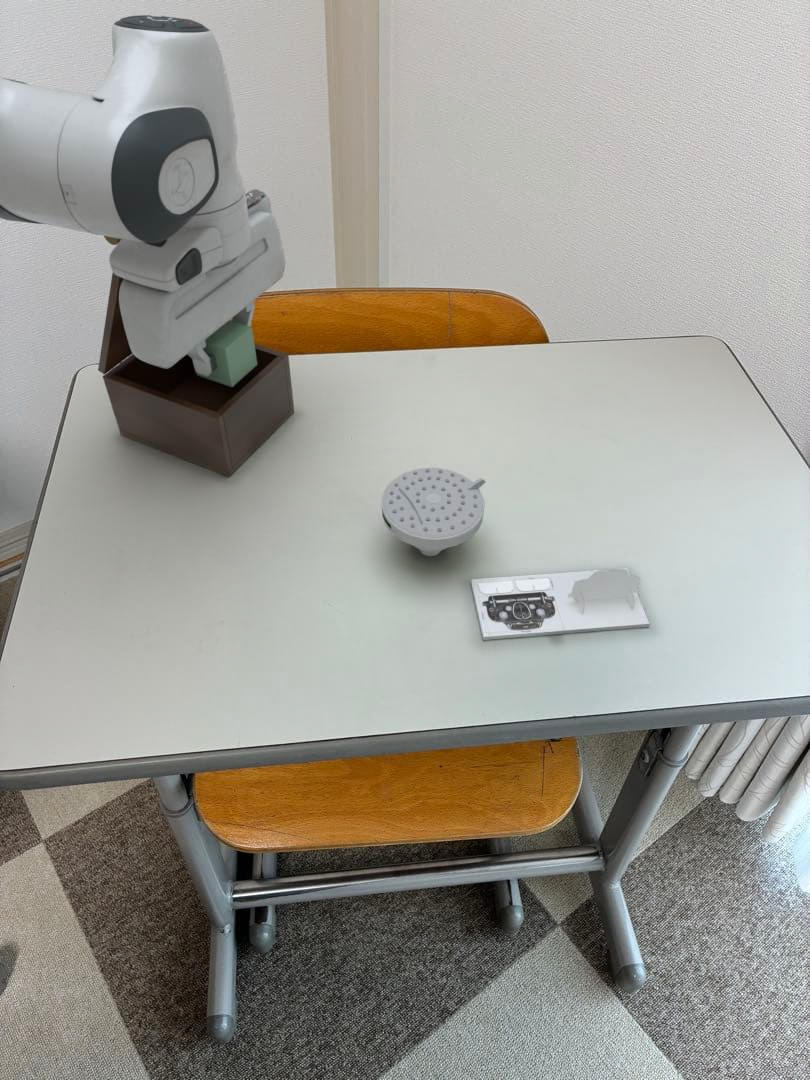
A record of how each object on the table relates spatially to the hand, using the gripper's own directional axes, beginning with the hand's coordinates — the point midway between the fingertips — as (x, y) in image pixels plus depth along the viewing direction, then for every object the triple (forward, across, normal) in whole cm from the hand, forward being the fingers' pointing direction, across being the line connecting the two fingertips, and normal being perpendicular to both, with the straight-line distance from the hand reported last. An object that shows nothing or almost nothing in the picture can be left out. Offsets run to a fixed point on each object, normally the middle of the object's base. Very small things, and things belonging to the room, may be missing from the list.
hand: (224, 356), depth 81 cm
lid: (-5, 0, -7) cm, 9 cm away
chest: (+10, 0, -4) cm, 11 cm away
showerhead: (+10, +5, +27) cm, 29 cm away
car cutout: (+10, +6, +40) cm, 42 cm away
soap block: (+2, 0, 0) cm, 2 cm away
